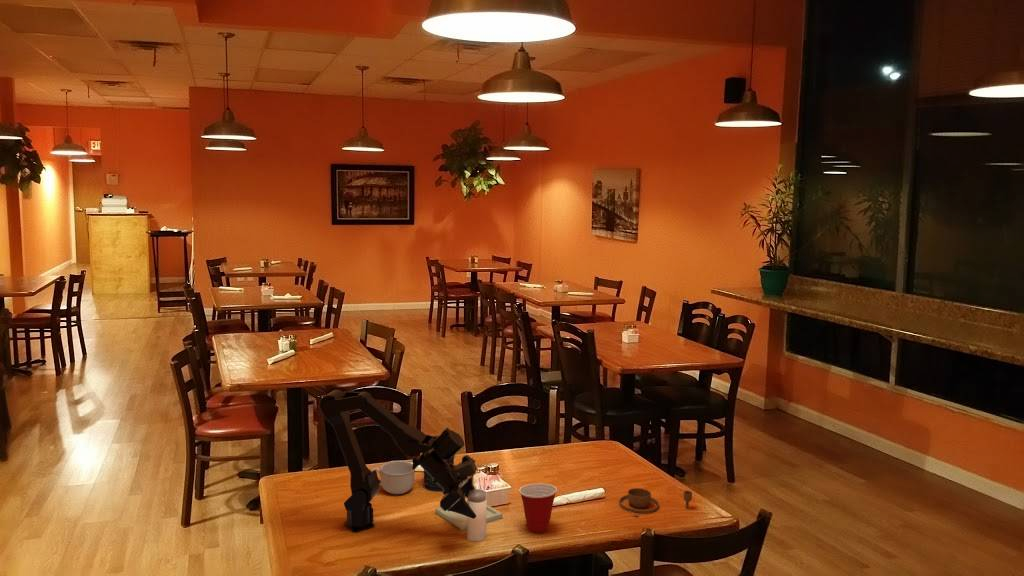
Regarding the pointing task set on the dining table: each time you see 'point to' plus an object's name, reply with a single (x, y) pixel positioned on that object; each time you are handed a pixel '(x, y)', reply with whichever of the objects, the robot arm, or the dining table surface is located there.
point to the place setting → (645, 500)
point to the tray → (461, 520)
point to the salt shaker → (477, 515)
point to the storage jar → (428, 479)
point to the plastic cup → (538, 505)
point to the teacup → (396, 476)
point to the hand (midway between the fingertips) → (478, 510)
